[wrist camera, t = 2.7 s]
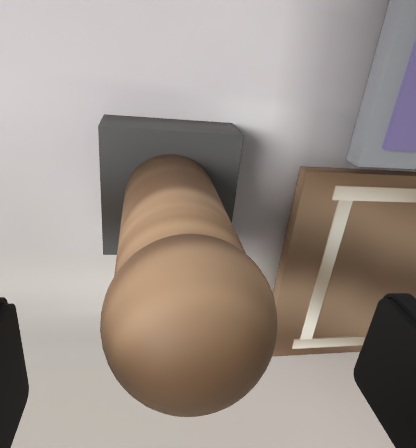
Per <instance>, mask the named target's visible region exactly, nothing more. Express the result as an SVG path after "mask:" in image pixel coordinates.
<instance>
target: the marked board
mask: <svg viewBox="0 0 416 448" xmlns="http://www.w3.org/2000/svg"><path fill="white" fill-rule="evenodd" d="M389 293H408V294H411V295H412V296H414V297H415V298H416V172H409V171H387V170H365V169H343V168H321V167H300V172H299V176H298V181H297V185H296V190H295V195H294V199H293V204H292V209H291V213H290V218H289V222H288V227H287V232H286V236H285V241H284V245H283V250H282V255H281V259H280V264H279V268H278V273H277V278H276V282H275V287H274V292H273V296H274V299H275V305H276V310H277V338H276V344H275V349H274V352H273V355H272V356H288V355H306V354H324V353H342V352H360V351H361V349H362V346H363V343H364V340H365V337H366V335H367V332H368V329H369V326H370V323H371V321H372V318H373V315H374V312H375V310H376V307H377V304H378V302H379V300H381V299H383V297H384V296H385V295H386V294H389Z"/></svg>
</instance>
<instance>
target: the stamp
mask: <svg viewBox="0 0 416 448" xmlns="http://www.w3.org/2000/svg"><path fill="white" fill-rule="evenodd" d="M98 131H99V156H100V182H101V208H102V233H103V255H117V259H116V267H115V275H114V278H113V280H112V282H111V284H110V286H109V288H108V290H107V293H106V295H105V299H104V303H103V307H102V312H101V327H100V332H101V339H102V346H103V350H104V353H105V356H106V359H107V362H108V365H109V367H110V369H111V370H112V372H113V374H114V376H115V377H116V379H117V380H118V382H119V383H120V384H121V386H122V387H123V388H124V389H125V390H126V391H127V392H128V393H129V394H130V395H131V396H132V397H133V398H135V399H136V400H138V401H139V402H141V403H142V404H144V405H145V406H147V407H149V408H151V409H153V410H156V411H158V412H161V413H164V414H168V415H172V416H179V417H196V416H203V415H208V414H211V413H215V412H218V411H220V410H223V409H225V408H227V407H229V406H231V405H233V404H234V403H236V402H237V401H239V400H240V399H241V398H243V397H244V396H245V395H246V394H247V393H248V392H249V391H250V390H251V389H252V388H253V387H254V386H255V385H256V384H257V383H258V381H259V380H260V378H261V377H262V375H263V374H264V372H265V371H266V369H267V367H268V365H269V362H270V360H271V358H272V355H273V352H274V349H275V344H276V338H277V310H276V305H275V299H274V296H273V294H272V291H271V288H270V286H269V283H268V281H267V280H266V278H265V276H264V275H263V273H262V271H261V270H260V268H259V267H258V266H257V265H256V264H255V262H254V261H253V260H252V259H251V258H250V257H249V256H248V255H246V253H245V251H244V249H243V247H242V245H241V242H240V240H239V238H238V236H237V234H236V232H235V230H234V228H233V225H232V216H233V209H234V202H235V195H236V188H237V180H238V173H239V166H240V159H241V152H242V144H243V137H244V135H243V134H242V133H241V132H240V131H239V130H238V129H237V128H236V127H235V126H234V125H233V124H232V123H221V122H206V121H192V120H177V119H162V118H147V117H132V116H117V115H104V116H103V118H102V120H101V122H100V124H99V126H98Z"/></svg>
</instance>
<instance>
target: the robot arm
mask: <svg viewBox="0 0 416 448" xmlns="http://www.w3.org/2000/svg"><path fill="white" fill-rule="evenodd" d="M354 379H355V382H356V384H357V385H358V387H359V389H360V390H361V392H362V394H363V395H364V397H365V399H366V400H367V402H368V403H369V405H370V407H371V408H372V410H373V412H374V413H375V415H376V416H377V418H378V420H379V421H380V423H381V425H382V426H383V428H384V430H385V431H386V433H387V434H388V436H389V438H390V439H391V441H392V443H393V444H394V446H395V448H416V298H415V297H414V296H412V295H411V294H408V293H389V294H386V295H385V296H384V297H383V299H381V300H379V302H378V304H377V307H376V310H375V312H374V315H373V318H372V321H371V323H370V326H369V329H368V332H367V335H366V337H365V340H364V343H363V346H362V349H361V351H360V354H359V357H358V360H357V362H356V365H355V368H354ZM28 392H29V384H28V378H27V372H26V366H25V360H24V354H23V348H22V342H21V336H20V330H19V324H18V318H17V312H16V307H15V305H14V304H8V302H7V300H6V298H3V297H0V448H11V445H12V442H13V439H14V436H15V433H16V431H17V428H18V425H19V422H20V419H21V416H22V413H23V411H24V408H25V405H26V402H27V398H28Z"/></svg>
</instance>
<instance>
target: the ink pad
mask: <svg viewBox="0 0 416 448" xmlns="http://www.w3.org/2000/svg"><path fill="white" fill-rule="evenodd" d="M346 160H348V161H349V162H351V163H353V164H354V165H356V166H358V167H377V168H398V169H416V0H390V1H389V4H388V8H387V12H386V15H385V19H384V23H383V26H382V30H381V34H380V37H379V41H378V45H377V48H376V52H375V56H374V59H373V63H372V67H371V70H370V74H369V78H368V81H367V85H366V89H365V92H364V96H363V100H362V103H361V107H360V111H359V114H358V118H357V122H356V125H355V129H354V133H353V136H352V140H351V144H350V147H349V151H348V155H347V158H346Z"/></svg>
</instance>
